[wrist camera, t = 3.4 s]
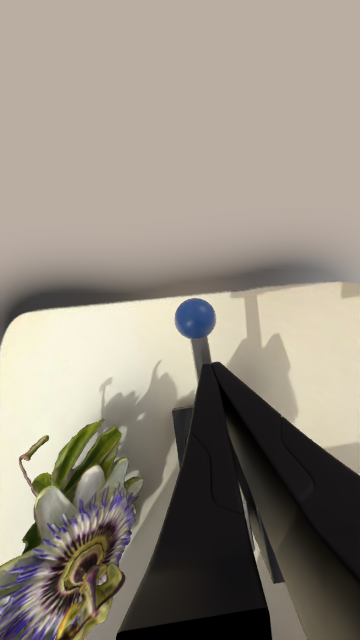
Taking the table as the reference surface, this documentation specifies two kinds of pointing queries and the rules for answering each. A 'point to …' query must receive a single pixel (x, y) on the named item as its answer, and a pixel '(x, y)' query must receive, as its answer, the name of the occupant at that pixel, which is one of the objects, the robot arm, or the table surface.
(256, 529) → the black lever base
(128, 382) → the table surface
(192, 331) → the tap lever
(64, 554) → the passion flower
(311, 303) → the table surface
